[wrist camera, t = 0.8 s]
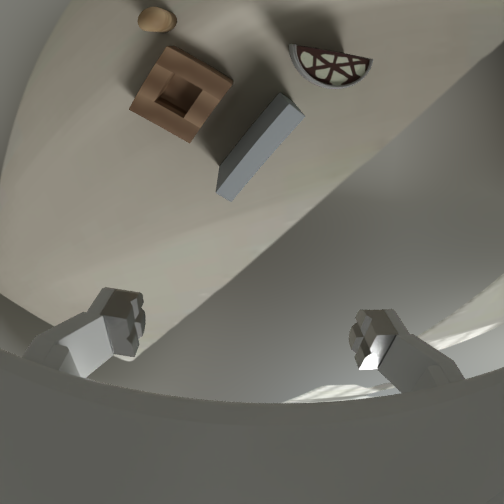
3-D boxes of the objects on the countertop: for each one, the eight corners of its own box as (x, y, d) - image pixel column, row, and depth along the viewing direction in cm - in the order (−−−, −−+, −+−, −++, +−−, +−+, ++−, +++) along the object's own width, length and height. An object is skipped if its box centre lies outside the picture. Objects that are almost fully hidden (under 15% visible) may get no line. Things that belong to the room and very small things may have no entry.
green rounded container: (278, 77, 41) (287, 85, 34) (281, 43, 37) (291, 43, 29) (347, 86, 42) (370, 98, 34) (352, 55, 38) (376, 60, 30)
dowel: (162, 8, 31) (148, 2, 25) (181, 17, 33) (170, 13, 27) (148, 26, 33) (132, 25, 27) (167, 36, 35) (154, 35, 29)
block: (174, 45, 36) (166, 46, 32) (233, 80, 41) (232, 84, 37) (138, 102, 42) (128, 109, 38) (194, 134, 47) (189, 143, 43)
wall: (280, 92, 43) (289, 103, 35) (293, 102, 44) (305, 116, 37) (219, 166, 52) (215, 192, 45) (232, 174, 53) (231, 202, 46)
